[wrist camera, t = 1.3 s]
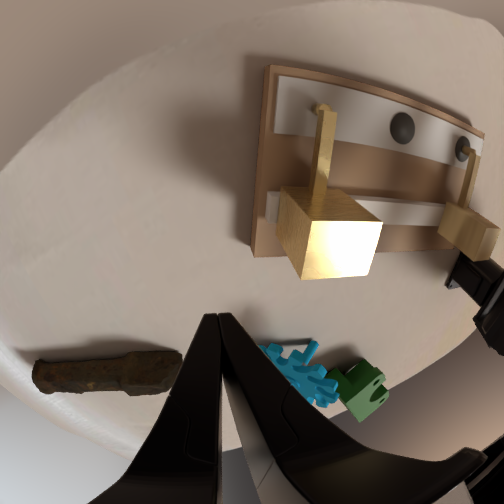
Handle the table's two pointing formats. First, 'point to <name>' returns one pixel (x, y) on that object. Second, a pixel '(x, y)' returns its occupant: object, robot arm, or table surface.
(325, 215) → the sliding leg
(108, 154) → the table surface
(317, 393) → the gear
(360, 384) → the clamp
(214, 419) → the robot arm
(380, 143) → the wooden base with blocks
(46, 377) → the hand tool
